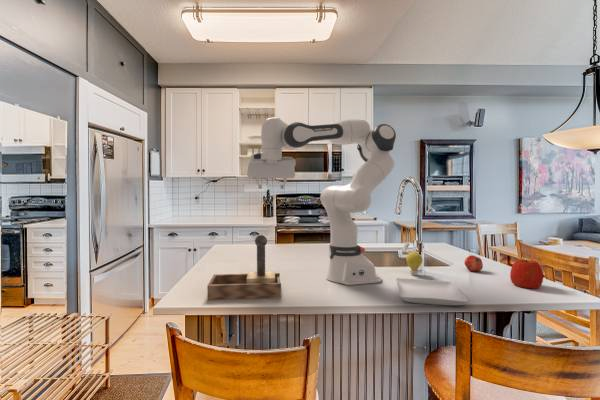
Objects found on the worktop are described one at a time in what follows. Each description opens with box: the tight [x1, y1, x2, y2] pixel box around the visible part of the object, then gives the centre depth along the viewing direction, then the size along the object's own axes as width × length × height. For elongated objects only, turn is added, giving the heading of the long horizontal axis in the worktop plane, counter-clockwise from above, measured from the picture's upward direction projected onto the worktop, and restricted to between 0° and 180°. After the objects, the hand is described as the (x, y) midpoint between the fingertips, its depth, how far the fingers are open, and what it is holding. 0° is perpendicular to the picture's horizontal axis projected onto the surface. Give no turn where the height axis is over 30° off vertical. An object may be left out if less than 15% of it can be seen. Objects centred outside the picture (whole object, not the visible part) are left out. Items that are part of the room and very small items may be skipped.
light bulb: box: [405, 251, 423, 276], centre depth 145 cm, size 7×7×10 cm
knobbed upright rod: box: [247, 234, 276, 284], centre depth 122 cm, size 10×9×20 cm
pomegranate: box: [463, 254, 484, 272], centre depth 152 cm, size 7×7×10 cm
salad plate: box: [395, 277, 469, 307], centre depth 118 cm, size 21×21×3 cm
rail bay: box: [206, 272, 282, 301], centre depth 122 cm, size 25×14×5 cm, turn 96°
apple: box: [509, 258, 544, 290], centre depth 130 cm, size 11×11×11 cm
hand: (271, 188), depth 142 cm, fingers open, 8 cm apart
